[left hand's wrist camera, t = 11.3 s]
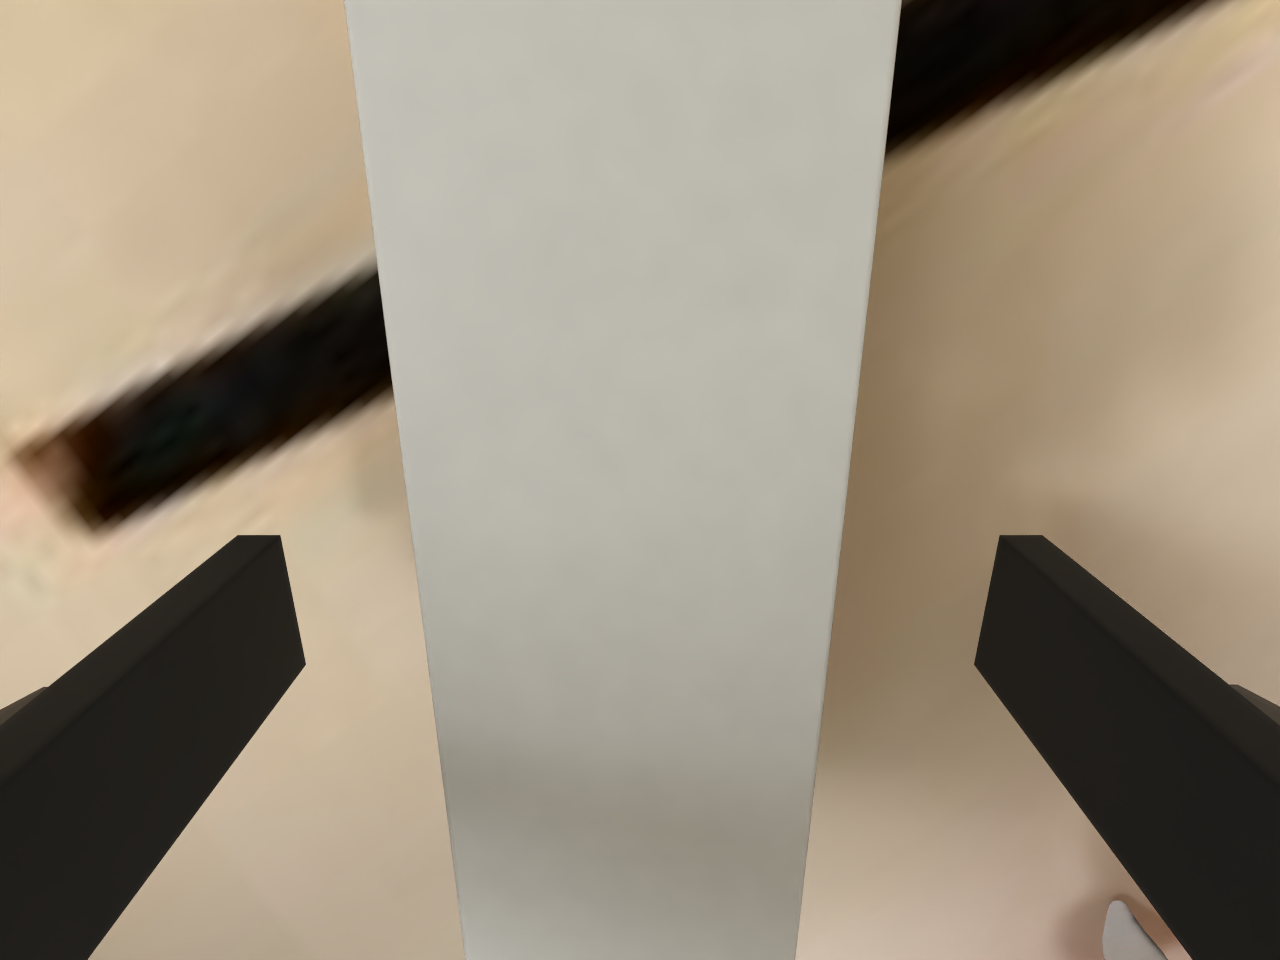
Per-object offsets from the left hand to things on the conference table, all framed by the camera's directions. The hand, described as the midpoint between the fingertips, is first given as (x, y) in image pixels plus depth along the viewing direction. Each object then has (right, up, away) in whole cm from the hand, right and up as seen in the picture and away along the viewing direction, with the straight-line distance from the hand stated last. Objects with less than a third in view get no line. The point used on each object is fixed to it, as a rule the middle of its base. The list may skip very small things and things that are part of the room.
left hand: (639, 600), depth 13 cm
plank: (0, +27, -6) cm, 28 cm away
